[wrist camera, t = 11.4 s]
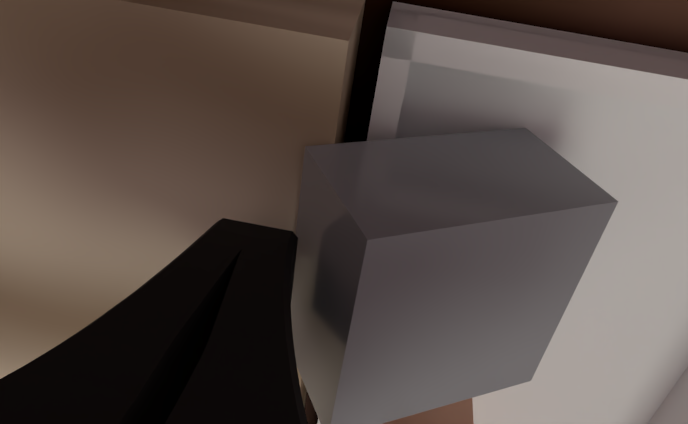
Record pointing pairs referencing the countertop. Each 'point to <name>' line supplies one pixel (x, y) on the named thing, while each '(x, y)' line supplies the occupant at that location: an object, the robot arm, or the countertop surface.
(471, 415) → the terracotta block
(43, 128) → the birch board
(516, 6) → the countertop surface
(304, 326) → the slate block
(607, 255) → the grey tray
